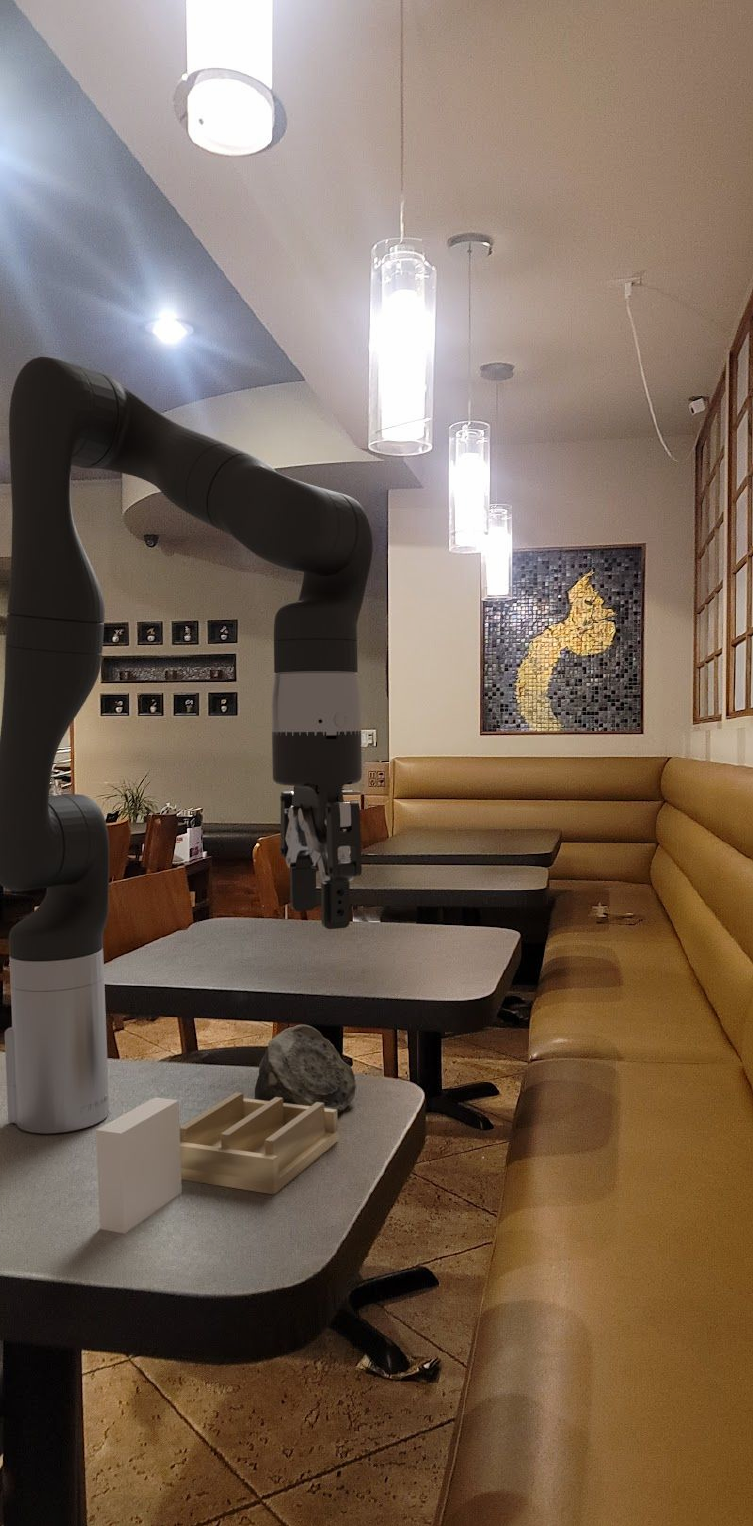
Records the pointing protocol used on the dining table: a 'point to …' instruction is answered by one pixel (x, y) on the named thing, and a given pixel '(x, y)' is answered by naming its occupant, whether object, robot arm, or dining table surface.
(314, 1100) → the fossil
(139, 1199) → the upright cream slab
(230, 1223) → the dining table surface
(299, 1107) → the rack
